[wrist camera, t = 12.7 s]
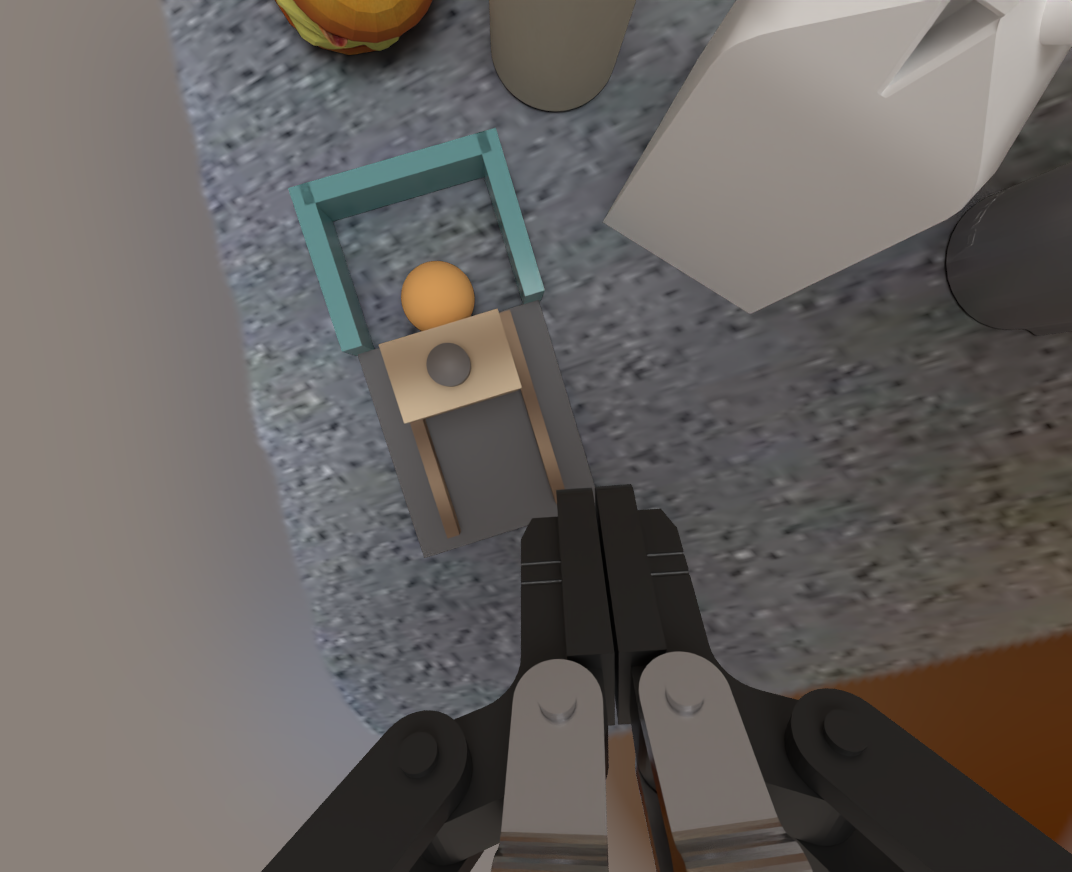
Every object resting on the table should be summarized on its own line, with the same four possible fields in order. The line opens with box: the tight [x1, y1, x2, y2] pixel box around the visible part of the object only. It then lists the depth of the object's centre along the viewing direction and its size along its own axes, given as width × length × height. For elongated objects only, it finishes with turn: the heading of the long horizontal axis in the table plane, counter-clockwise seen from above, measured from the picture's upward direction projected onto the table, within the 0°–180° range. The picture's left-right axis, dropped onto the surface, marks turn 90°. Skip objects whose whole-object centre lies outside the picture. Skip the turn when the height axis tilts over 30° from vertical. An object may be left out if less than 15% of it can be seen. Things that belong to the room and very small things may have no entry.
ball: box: [401, 261, 475, 331], centre depth 36 cm, size 4×4×4 cm
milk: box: [603, 0, 1072, 314], centre depth 26 cm, size 12×12×26 cm
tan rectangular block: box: [379, 309, 522, 424], centre depth 33 cm, size 4×6×10 cm, turn 107°
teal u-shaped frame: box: [288, 128, 545, 356], centre depth 36 cm, size 10×12×4 cm
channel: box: [410, 310, 565, 539], centre depth 37 cm, size 12×8×1 cm, turn 17°
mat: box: [358, 300, 595, 558], centre depth 38 cm, size 14×12×1 cm
